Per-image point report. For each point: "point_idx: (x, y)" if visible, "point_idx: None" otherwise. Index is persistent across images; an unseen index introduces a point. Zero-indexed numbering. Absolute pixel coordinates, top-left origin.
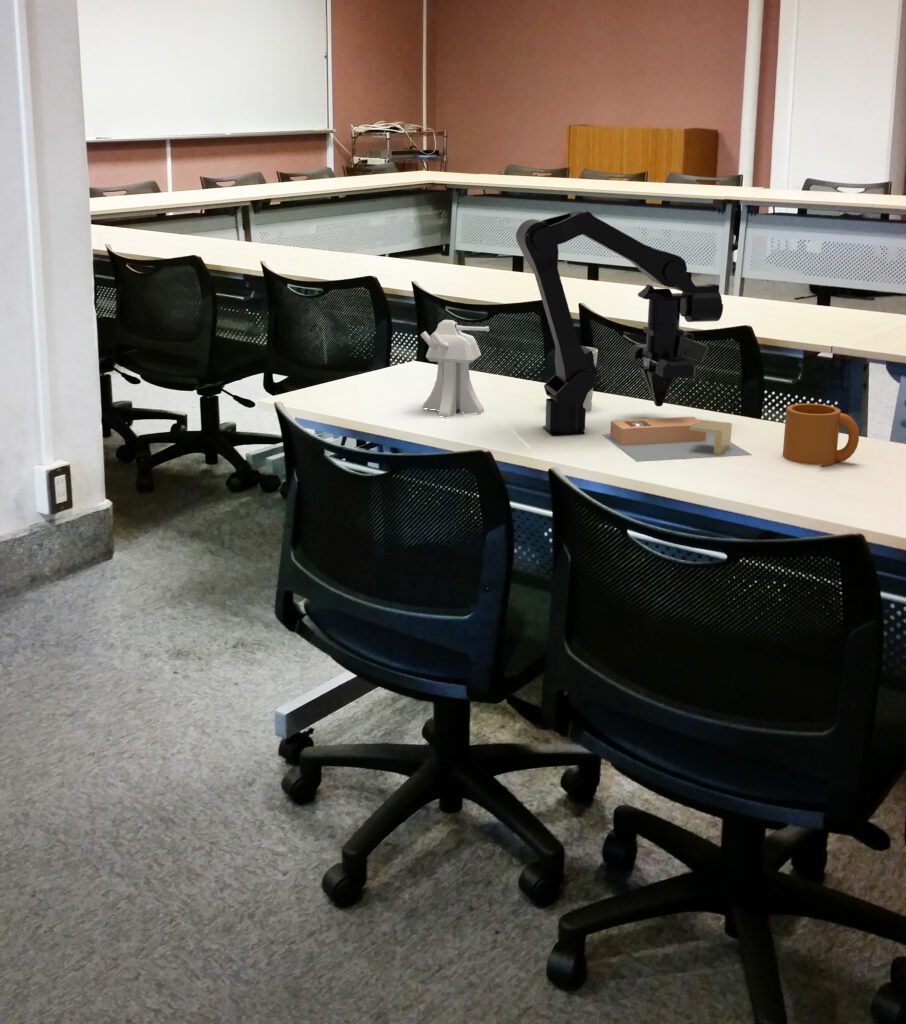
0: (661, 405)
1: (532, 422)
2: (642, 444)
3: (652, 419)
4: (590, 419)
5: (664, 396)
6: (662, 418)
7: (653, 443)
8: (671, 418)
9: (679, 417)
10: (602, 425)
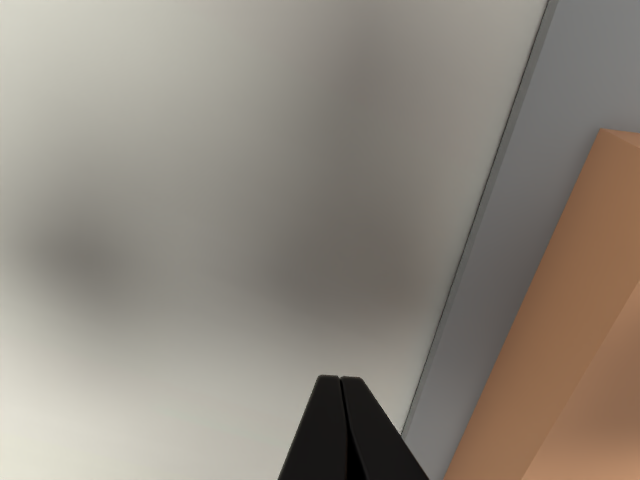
0: (361, 384)
1: None
2: None
3: (546, 470)
4: (35, 470)
5: (412, 468)
6: (566, 418)
7: None
8: (610, 371)
9: (625, 307)
10: (174, 464)
